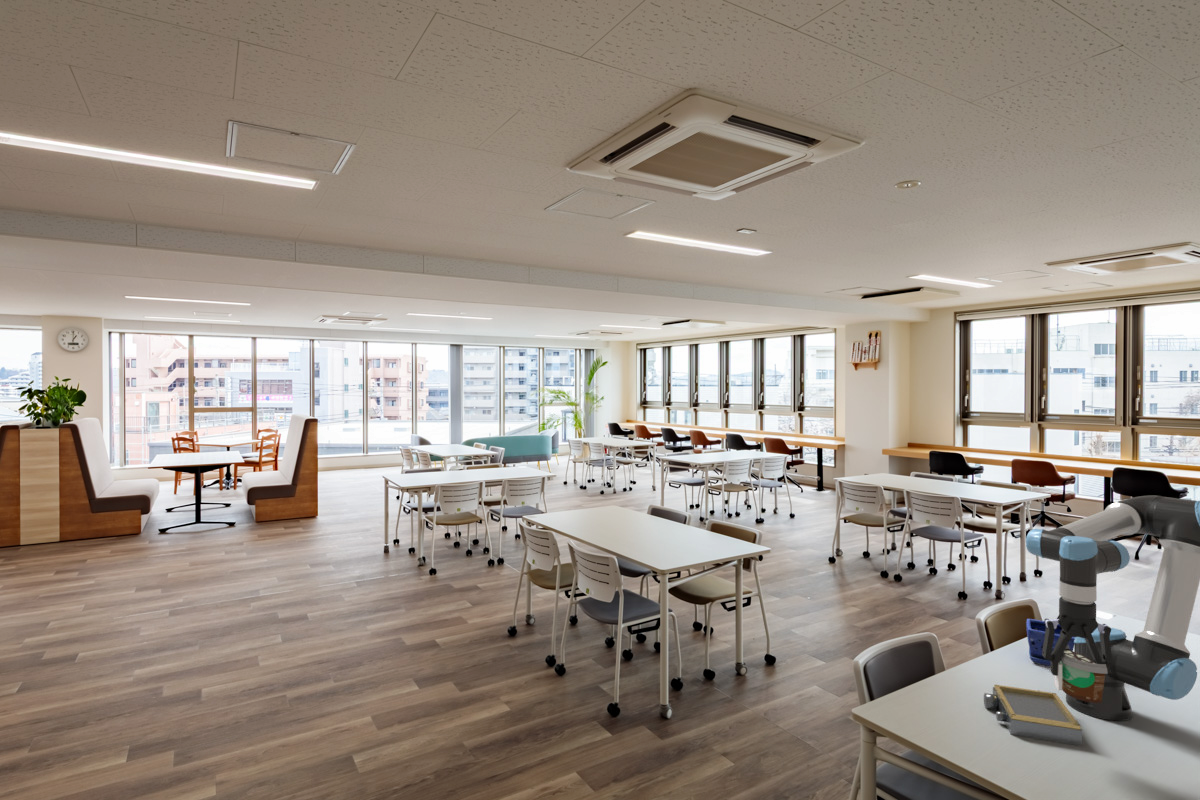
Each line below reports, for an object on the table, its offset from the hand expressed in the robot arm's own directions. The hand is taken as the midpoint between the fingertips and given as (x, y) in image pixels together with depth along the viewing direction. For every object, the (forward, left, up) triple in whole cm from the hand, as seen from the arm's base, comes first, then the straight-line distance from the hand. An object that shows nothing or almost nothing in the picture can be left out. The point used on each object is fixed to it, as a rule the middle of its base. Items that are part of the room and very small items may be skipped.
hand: (1076, 689), depth 163 cm
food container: (0, 0, -1) cm, 1 cm away
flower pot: (-12, -65, -17) cm, 68 cm away
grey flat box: (+6, -16, -17) cm, 24 cm away
